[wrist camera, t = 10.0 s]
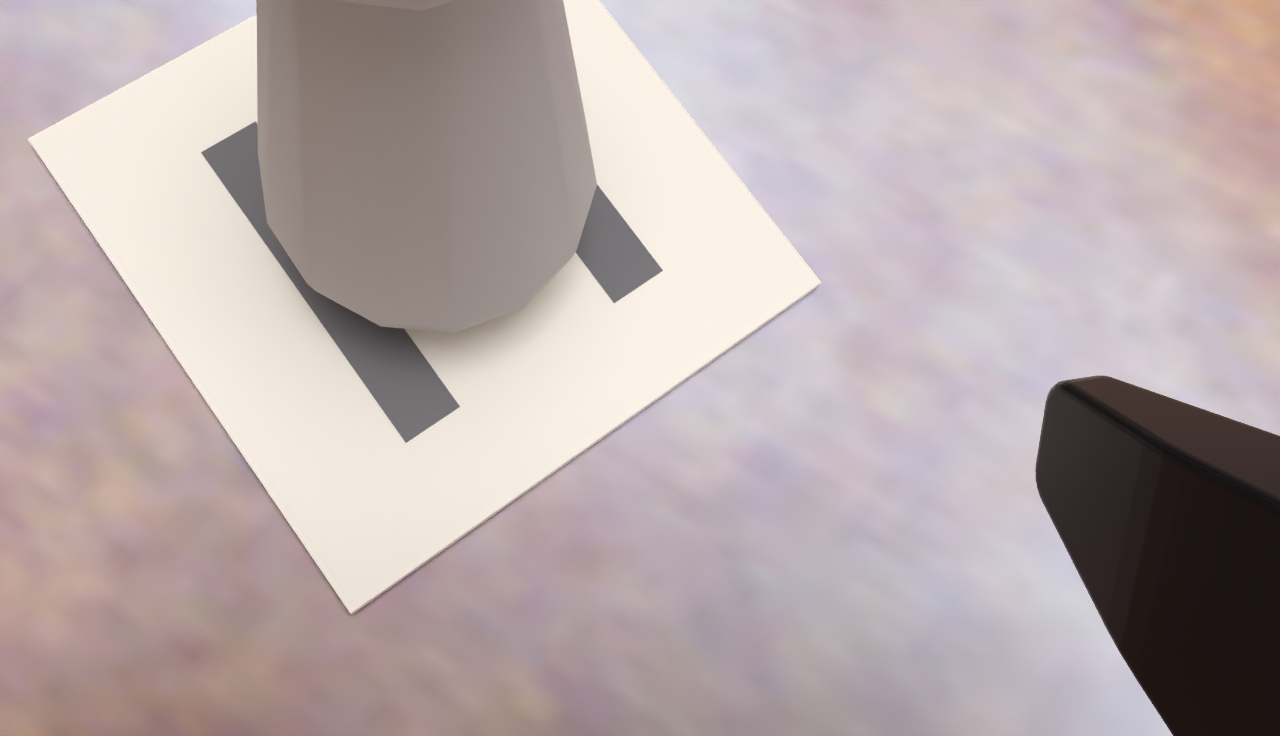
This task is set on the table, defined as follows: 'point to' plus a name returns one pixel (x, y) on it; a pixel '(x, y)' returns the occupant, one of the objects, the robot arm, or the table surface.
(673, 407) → the table surface
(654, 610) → the table surface
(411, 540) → the letter card
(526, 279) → the salt shaker
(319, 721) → the table surface
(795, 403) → the table surface
